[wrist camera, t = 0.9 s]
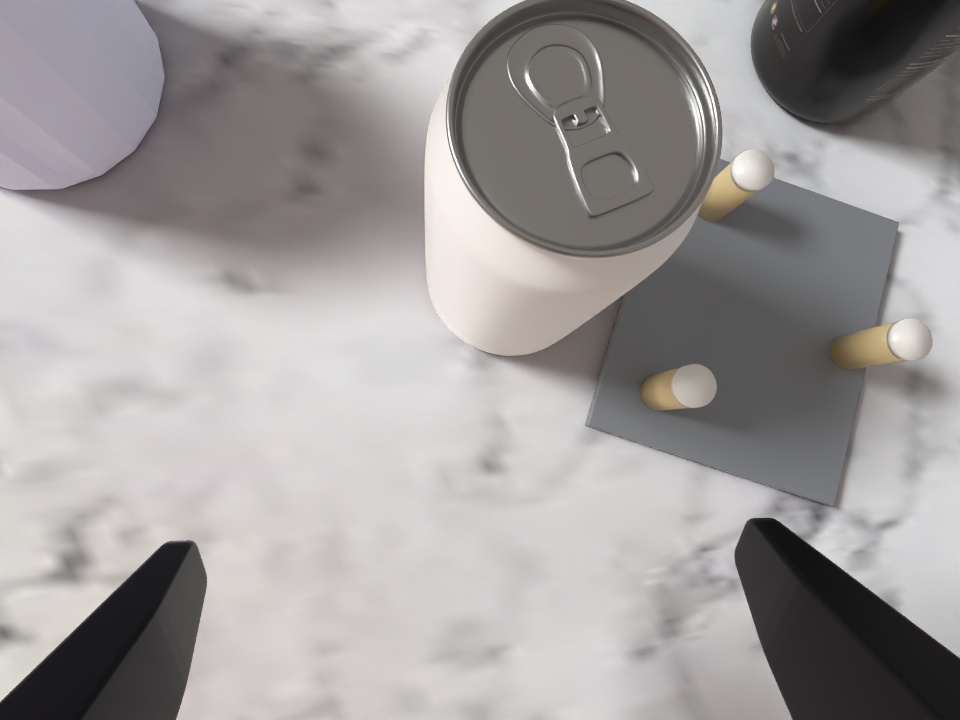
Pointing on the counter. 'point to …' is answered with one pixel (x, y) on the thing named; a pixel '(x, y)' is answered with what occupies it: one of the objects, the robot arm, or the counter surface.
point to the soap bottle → (73, 89)
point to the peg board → (757, 334)
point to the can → (562, 168)
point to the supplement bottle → (849, 52)
